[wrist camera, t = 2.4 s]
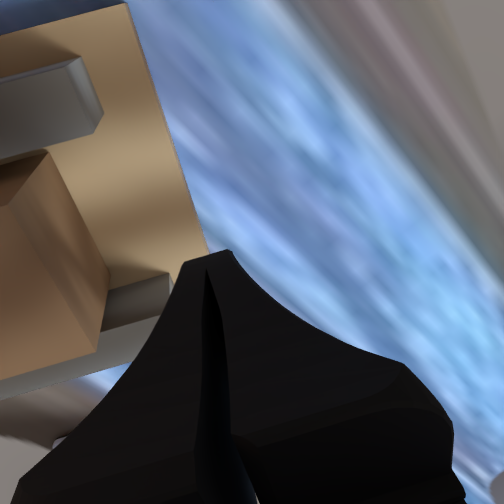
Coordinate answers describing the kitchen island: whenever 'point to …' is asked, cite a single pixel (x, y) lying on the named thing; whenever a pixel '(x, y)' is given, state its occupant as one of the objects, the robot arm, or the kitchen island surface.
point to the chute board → (102, 169)
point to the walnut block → (45, 271)
